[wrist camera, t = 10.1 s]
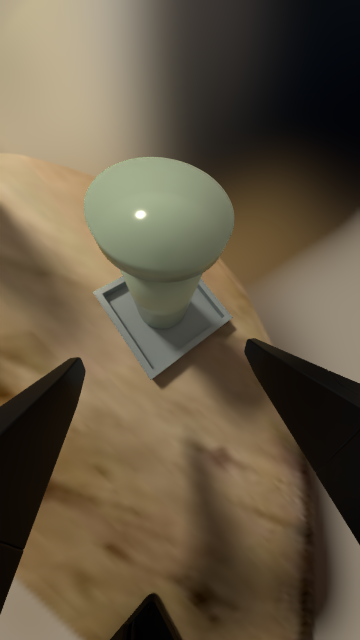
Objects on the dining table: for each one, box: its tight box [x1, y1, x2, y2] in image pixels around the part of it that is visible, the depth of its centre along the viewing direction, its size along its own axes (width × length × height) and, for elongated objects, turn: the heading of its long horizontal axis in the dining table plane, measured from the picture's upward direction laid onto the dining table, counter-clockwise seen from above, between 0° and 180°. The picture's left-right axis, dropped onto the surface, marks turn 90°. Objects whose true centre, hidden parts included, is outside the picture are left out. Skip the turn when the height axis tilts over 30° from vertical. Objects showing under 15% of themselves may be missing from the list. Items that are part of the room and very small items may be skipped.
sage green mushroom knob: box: [84, 157, 234, 329], centre depth 13 cm, size 7×7×12 cm
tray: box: [93, 276, 233, 380], centre depth 18 cm, size 11×11×2 cm
